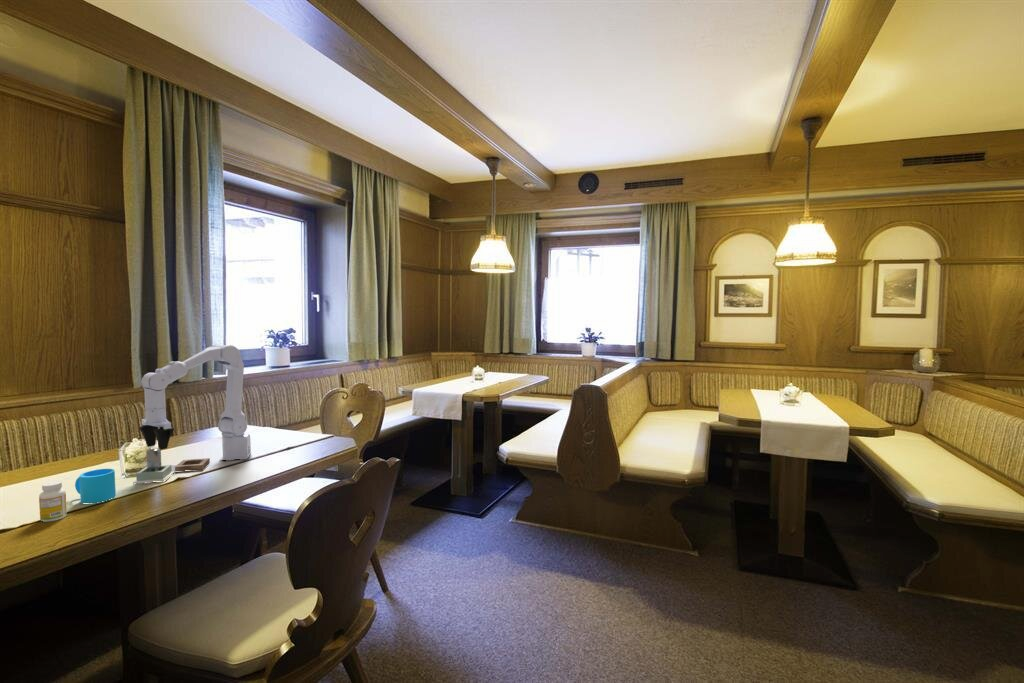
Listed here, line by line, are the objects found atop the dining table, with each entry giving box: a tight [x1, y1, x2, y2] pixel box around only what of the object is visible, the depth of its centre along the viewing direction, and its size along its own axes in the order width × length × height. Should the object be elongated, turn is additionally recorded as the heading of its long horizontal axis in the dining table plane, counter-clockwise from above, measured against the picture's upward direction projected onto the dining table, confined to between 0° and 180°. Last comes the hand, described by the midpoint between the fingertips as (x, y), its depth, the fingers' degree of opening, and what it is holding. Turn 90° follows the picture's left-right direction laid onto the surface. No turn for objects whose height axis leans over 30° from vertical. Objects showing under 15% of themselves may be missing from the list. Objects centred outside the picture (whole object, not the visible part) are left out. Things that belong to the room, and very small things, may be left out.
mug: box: [74, 468, 117, 504], centre depth 151 cm, size 12×8×8 cm
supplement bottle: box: [38, 480, 68, 523], centre depth 137 cm, size 5×5×10 cm
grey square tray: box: [132, 464, 176, 485], centre depth 170 cm, size 9×9×3 cm
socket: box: [174, 457, 211, 471], centre depth 182 cm, size 9×9×2 cm
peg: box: [145, 448, 163, 472], centre depth 169 cm, size 4×4×9 cm
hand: (157, 447), depth 171 cm, fingers open, 7 cm apart
